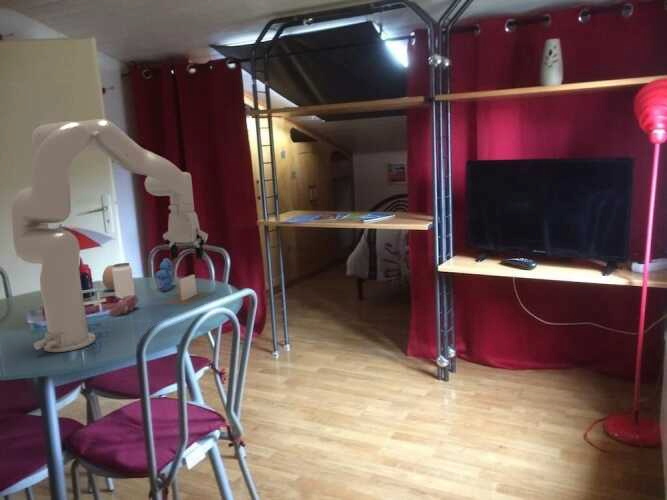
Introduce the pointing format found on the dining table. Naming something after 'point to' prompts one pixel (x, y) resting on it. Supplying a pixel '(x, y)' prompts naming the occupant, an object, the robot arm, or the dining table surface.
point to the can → (123, 280)
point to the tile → (187, 287)
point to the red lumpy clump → (124, 305)
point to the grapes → (165, 274)
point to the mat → (189, 301)
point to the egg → (108, 278)
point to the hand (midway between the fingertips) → (187, 258)
